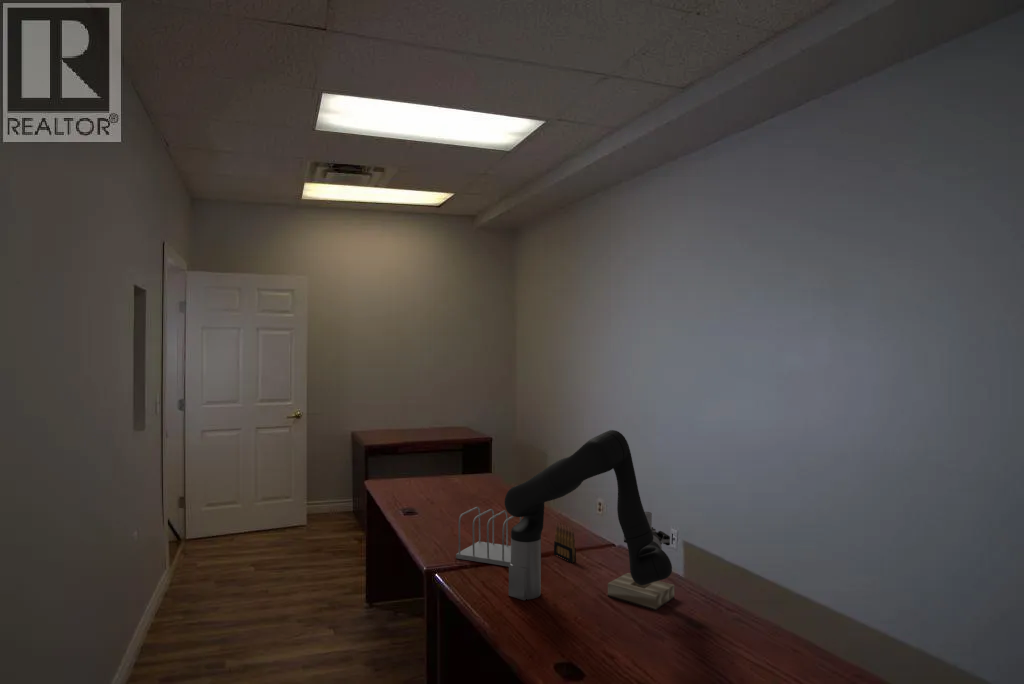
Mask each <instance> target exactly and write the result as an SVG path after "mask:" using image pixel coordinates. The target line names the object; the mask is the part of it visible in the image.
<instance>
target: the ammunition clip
mask: <svg viewBox="0 0 1024 684" xmlns="http://www.w3.org/2000/svg"><path fill="white" fill-rule="evenodd" d="M575 539H576V538H575V531H574V527H572V528H571V527H570V526H569V527H568V525H564V524H562V523H561V522H560V523H559V522H558V521H556V524H555V535H554V542H553V555H554V556H555V555H558V556H560V557H562V558H564V559H566V560H568V561H569V562H568V561H567V562H568V563H570V562H572V563H571V564H574V563H573V562H576V563H577V552H576V551H577V548H576V542H575V541H576V540H575ZM564 559H563V560H564ZM566 560H565V561H566Z"/></svg>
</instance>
